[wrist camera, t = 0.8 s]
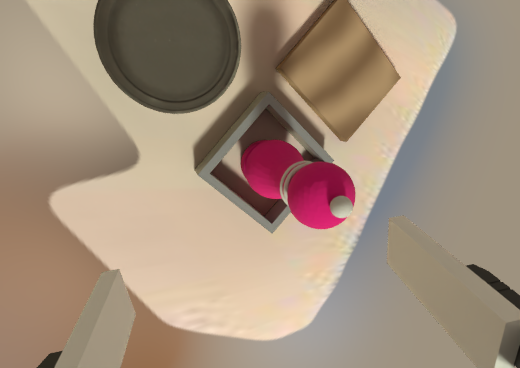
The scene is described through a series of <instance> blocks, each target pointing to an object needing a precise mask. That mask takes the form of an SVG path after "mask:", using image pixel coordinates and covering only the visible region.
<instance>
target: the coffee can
mask: <svg viewBox="0 0 520 368" xmlns="http://www.w3.org/2000/svg"><path fill="white" fill-rule="evenodd" d="M94 38H95V44H96V48H97V51H98V54H99V57H100V60H101V62H102V64H103V66H104V68H105V69H106V71H107V73H108V74H109V76H110V77H111V79H112V80H113V82H114V83H115V84H116V85H117V86H118V87H119V88H120V89H121V90H122V91H123V92H124V93H125V94H126V95H128V96H129V97H130V98H132V99H133V100H135V101H136V102H138V103H139V104H141V105H143V106H145V107H147V108H150V109H153V110H156V111H159V112H163V113H172V114H182V113H190V112H194V111H197V110H200V109H202V108H205V107H207V106H208V105H210V104H212V103H213V102H215V101H216V100H217V99H218V98H219V97H221V96H222V95H223V94H224V92H225V91H226V90H227V88H228V87H229V86H230V84H231V83H232V81H233V79H234V77H235V74H236V72H237V69H238V66H239V61H240V54H241V38H240V31H239V26H238V23H237V19H236V16H235V14H234V11H233V9H232V7H231V5H230V4H229V2H228V0H98V3H97V6H96V10H95V15H94Z"/></svg>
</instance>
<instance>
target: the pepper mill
mask: <svg viewBox="0 0 520 368" xmlns="http://www.w3.org/2000/svg"><path fill="white" fill-rule="evenodd" d="M241 168H242V172H243V174H244V176H245V178H246V179H247V181H248V183H249V185H250V186H251V188H252V189H253V190H254V191H255V192H257V193H258V194H260V195H262V196H264V197H266V198H271V199H281V198H282V199H283V201H284V202H285V203H286V204H287V205H288V206H289V208H290V210H291V213H292V214H293V215H294V216H295V218H296V219H297V220H298V221H299V222H301V223H302V224H304V225H306V226H308V227H311V228H315V229H328V228H332V227H334V226H336V225H338V224H340V223H342V222H343V221H344V220H345V219H346V218H347V217H348V216H349V215H350V214H351V212H352V210H353V206H354V202H355V187H354V184H353V181H352V180H351V178H350V176H349V175H348V174H347V173H346V171H344V170H343V169H342V168H340V167H339V166H337V165H335V164H333V163H328V162H311V161H304V160H303V157H302V156H301V154H300V153H299V151H298V150H297V149H296V148H295V147H294V146H292V145H290V144H289V143H287V142H285V141H282V140H260V141H256V142H254V143H252V144H251V145H250V146H249V147H248V148H247V149H246V150H245V152H244V154H243V156H242V160H241Z"/></svg>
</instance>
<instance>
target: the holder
mask: <svg viewBox="0 0 520 368" xmlns="http://www.w3.org/2000/svg"><path fill="white" fill-rule="evenodd" d="M265 108H266V109H267V110H268V111H269V112H270V113H271V114H272V115H273V116H274V117H275V118H276V119H277V120H278V121H279V122H280V123H281V124H282V125H283V126H284V127H285V128H286V129H287V131H288V132H289V133H290V134H291V135H292V136H293V137H294V138H295V139H296V140H297V141H298V142H299V143H300V144H301V145H302V146H303V147H304V148H305V149H306V150H307V151H308V152H309V153H310V154H311V155H312V156H313V157H314V159H313V160H312V161H311V162H328V163H332V162H333V161H334V160H333V159H332V158H331V157H330V156H329V154H328V153H327V152H326V151H325V150H324V149H323V148H322V147H321V146H320V145H319V144H318V143H317V142H316V141H315V140H314V139H313V138H312V137H311V136H310V135H309V133H308V132H307V131H306V130H305V129H304V128H303V127H302V126H301V125H300V124H299V123H298V122H297V121H296V120H295V119H294V118H293V117H292V116H291V115H290V113H289V112H288V111H287V110H286V109H285V108H284V107H283V106H282V105H281V104H280V103H279V102H278V101H277V100H276V99H275V98H274V97H273V96H272V95H271V93H270V92H261V93H260V94H259V95H258V96H257V97H256V98H255V100H254V101H253V102H252V103H251V104H250V106H249V107H248V108H247V109H246V110H245V111H244V113H243V114H242V115H241V116H240V117H239V118H238V120H237V121H236V122H235V123H234V124H233V125H232V127H231V128H230V129H229V130H228V131H227V132H226V134H225V135H224V136H223V137H222V138H221V139H220V141H219V142H218V143H217V144H216V145H215V146H214V148H213V149H212V150H211V151H210V152H209V153H208V155H207V156H206V157H205V158H204V159H203V161H202V162H201V163H200V164H199V165H198V166H197V168H196V169H195V171H196V173H197V175H198V176H200V177H201V178H202V179H204V180H205V181H206V182H207V183H209V184H210V185H211V186H212V187H214V188H215V189H216V190H217V191H219V192H220V193H221V194H223V195H224V196H225V197H226V198H228V199H229V200H230V201H231V202H233V203H234V204H235V205H237V206H238V207H239V208H240V209H242V210H243V211H244V212H245V213H247V214H248V215H249V216H250V217H252V218H253V219H254V220H256V221H257V222H258V223H259V224H261V225H262V226H263V227H264V228H266V229H267V230H268V231H270V232H271V233H273V232H274V231H275V230H276V229H277V228H278V226H279V225H280V224H281V223H282V222H283V220H284V219H285V218H286V217H287V216H288V214H289V213H290V212H291V210H290V208H289V206H288V205H287V204H286V203H285V202H284V201H283V199H282V198H281V199H279V200H278V201H277V202H276V203H275V205H274V206H273V207H272V208H271V209H270V211H269V212H268V213H267V214H266V215H265V216H264V215H262V214H261V213H260V212H259V211H257V210H256V209H255V208H254V207H253V206H251V205H250V204H249V203H248V202H246V201H245V200H244V199H243V198H241V197H240V196H239V195H238V194H236V193H235V192H234V191H233V190H232V189H230V188H229V187H228V186H227V185H225V184H224V183H223V182H222V181H220V180H219V179H218V178H217V177H215V176H214V175H213V174H212V173H211V171H212V170H213V169H214V168H215V167H216V166H217V164H218V163H219V162H220V161H221V160H222V159H223V157H224V156H225V155H226V154H227V153H228V152H229V150H230V149H231V148H232V147H233V146H234V145H235V143H236V142H237V141H238V140H239V139H240V137H241V136H242V135H243V134H244V133H245V132H246V130H247V129H248V128H249V127H250V126H251V125H252V123H253V122H254V121H255V120H256V119H257V118H258V116H259V115H260V114H261V113H262V112H263V111H264V109H265Z"/></svg>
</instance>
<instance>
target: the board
mask: <svg viewBox="0 0 520 368" xmlns="http://www.w3.org/2000/svg"><path fill="white" fill-rule="evenodd" d="M276 70H277V71H278V72H279V73H280V74H281V75H282V76H283V77H284V78H285V80H286V81H287V82H288V83H289V84H290V85H291V86H292V87H293V88H294V89H295V91H296V92H297V93H298V94H299V95H300V96H301V97H302V98H303V99H304V101H305V102H306V103H307V104H308V105H309V106H310V107H311V108H312V109H313V111H314V112H315V113H316V114H317V115H318V116H319V117H320V118H321V119H322V121H323V122H324V123H325V124H326V125H327V126H328V127H329V128H330V129H331V131H332V132H333V133H334V134H335V135H336V136H337V137H338V138H339V139H340V141H345V142H347V141H348V139H349V138H350V137H351V136H352V135H353V134H354V132H355V131H356V130H357V129H358V128H359V126H360V125H361V124H362V123H363V122H364V121H365V119H366V118H367V117H368V116H369V115H370V113H371V112H372V111H373V110H374V109H375V108H376V106H377V105H378V104H379V103H380V102H381V100H382V99H383V98H384V97H385V96H386V94H387V93H388V92H389V91H390V90H391V89H392V87H393V86H394V85H395V84H396V83H397V81H398V80H399V79H400V78H401V77H400V76H399V74H398V73H397V72H396V70H395V69H394V67H393V66H392V64H391V63H390V61H389V60H388V59H387V57H386V56H385V54H384V53H383V51H382V50H381V48H380V47H379V46H378V44H377V43H376V41H375V40H374V38H373V37H372V36H371V34H370V33H369V31H368V30H367V28H366V27H365V25H364V24H363V23H362V21H361V20H360V18H359V17H358V15H357V14H356V13H355V11H354V10H353V8H352V7H351V5H350V4H349V2H348V1H347V0H334V1H333V2H332V4H331V5H330V6H329V7H328V8H327V9H326V11H325V12H324V13H323V14H322V15H321V16H320V18H319V19H318V20H317V21H316V22H315V23H314V25H313V26H312V27H311V28H310V29H309V30H308V32H307V33H306V34H305V35H304V36H303V37H302V39H301V40H300V41H299V42H298V43H297V45H296V46H295V47H294V48H293V49H292V50H291V52H290V53H289V54H288V55H287V56H286V57H285V59H284V60H283V61H282V62H281V63H280V64H279V66H278V67H277V68H276Z"/></svg>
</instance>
